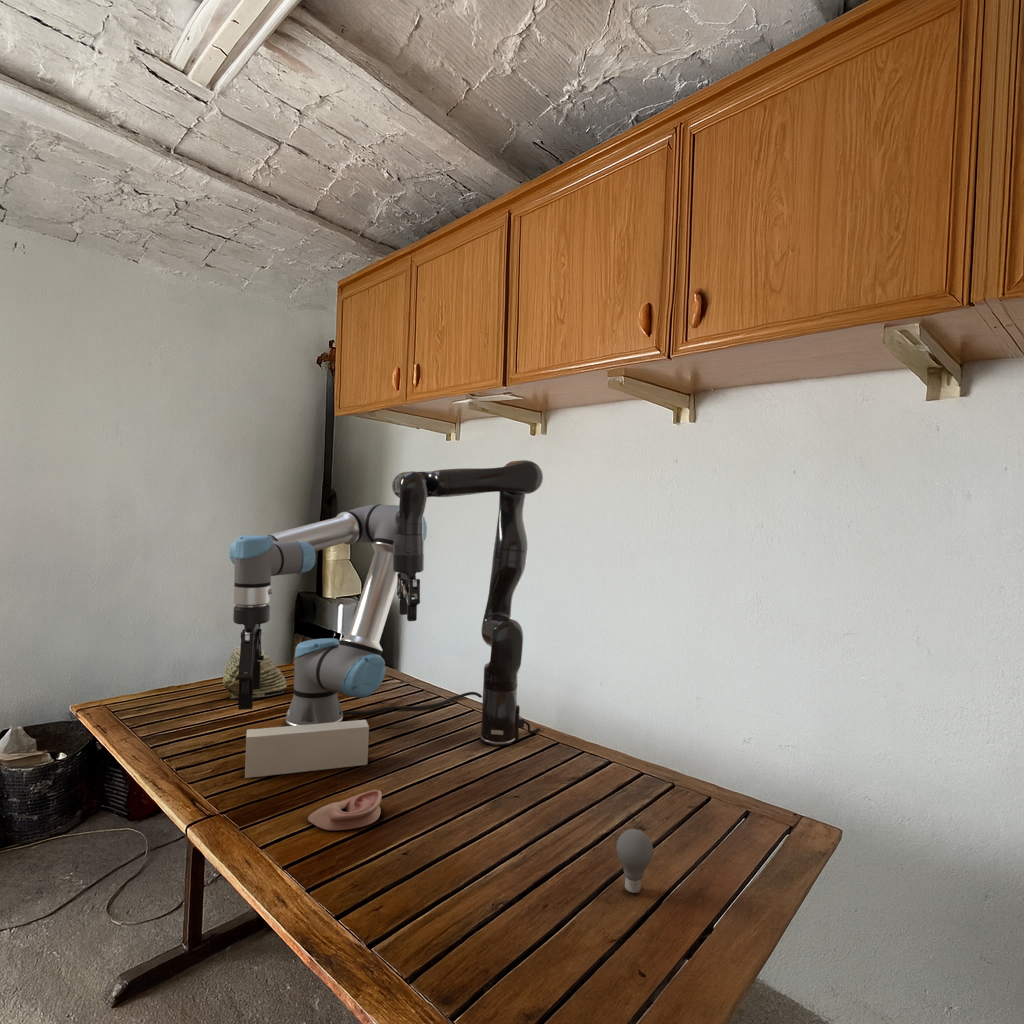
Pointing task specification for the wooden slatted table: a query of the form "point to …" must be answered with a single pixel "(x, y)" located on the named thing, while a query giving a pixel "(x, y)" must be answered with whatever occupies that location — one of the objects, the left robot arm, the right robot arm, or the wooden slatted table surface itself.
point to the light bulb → (634, 857)
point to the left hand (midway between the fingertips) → (249, 698)
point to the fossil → (269, 677)
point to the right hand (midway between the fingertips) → (407, 617)
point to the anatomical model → (349, 812)
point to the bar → (306, 748)
